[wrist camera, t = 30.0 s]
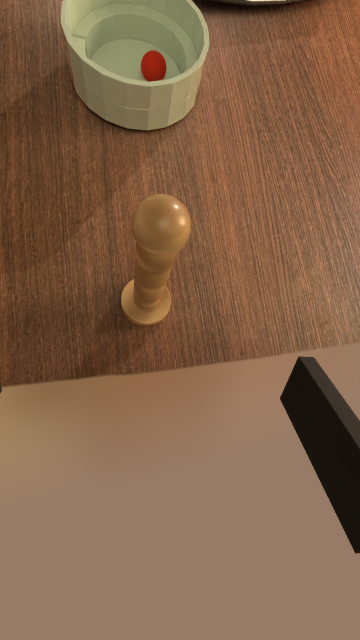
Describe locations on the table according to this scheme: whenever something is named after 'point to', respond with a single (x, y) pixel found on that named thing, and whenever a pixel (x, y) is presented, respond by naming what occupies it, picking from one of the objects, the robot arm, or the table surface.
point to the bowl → (135, 58)
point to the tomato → (153, 66)
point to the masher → (154, 257)
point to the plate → (257, 2)
